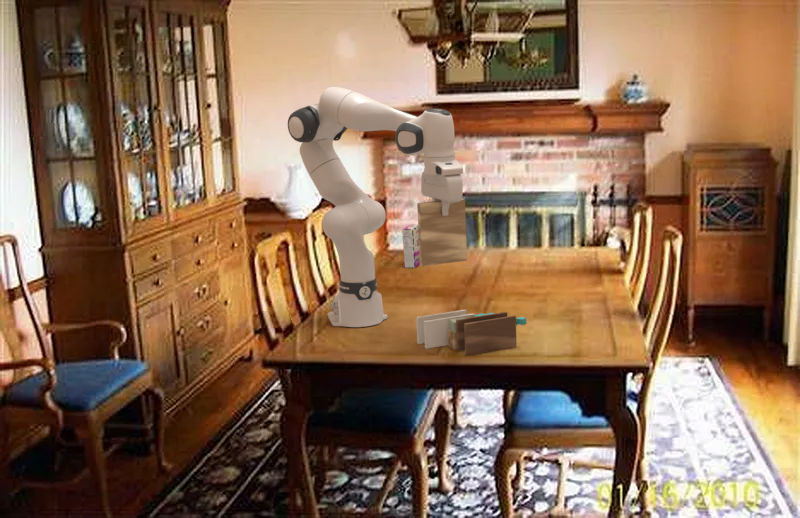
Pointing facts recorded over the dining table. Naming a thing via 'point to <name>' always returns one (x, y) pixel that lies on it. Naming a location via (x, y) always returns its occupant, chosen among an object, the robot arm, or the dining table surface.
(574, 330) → the dining table surface
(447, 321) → the holder
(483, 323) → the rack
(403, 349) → the dining table surface
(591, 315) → the dining table surface
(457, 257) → the sheet
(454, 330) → the offcut
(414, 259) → the candy bar box
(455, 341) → the offcut
